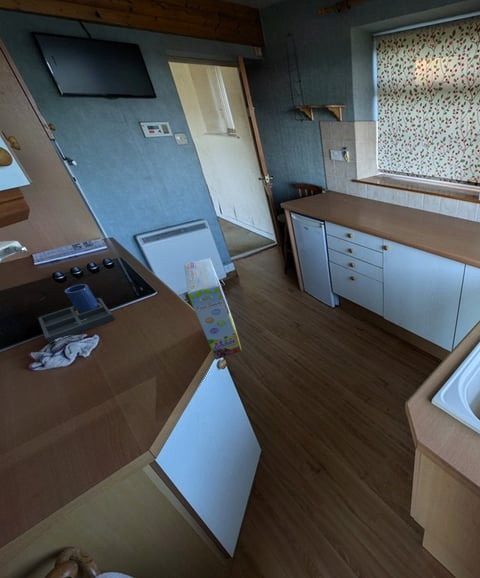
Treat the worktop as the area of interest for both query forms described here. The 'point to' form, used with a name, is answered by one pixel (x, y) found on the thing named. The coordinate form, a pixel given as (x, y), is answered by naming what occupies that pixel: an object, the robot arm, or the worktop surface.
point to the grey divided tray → (64, 321)
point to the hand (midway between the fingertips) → (12, 255)
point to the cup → (82, 298)
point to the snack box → (211, 308)
